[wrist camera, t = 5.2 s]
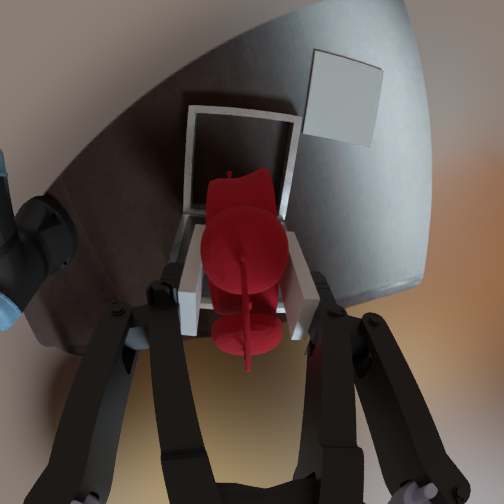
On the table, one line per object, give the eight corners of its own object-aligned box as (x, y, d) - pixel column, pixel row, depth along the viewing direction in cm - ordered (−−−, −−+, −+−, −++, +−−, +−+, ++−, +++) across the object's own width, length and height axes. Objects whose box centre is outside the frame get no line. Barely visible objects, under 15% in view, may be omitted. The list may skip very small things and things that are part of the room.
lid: (182, 211, 39) (182, 218, 40) (158, 297, 27) (159, 304, 27) (285, 219, 40) (284, 226, 41) (305, 306, 28) (302, 313, 29)
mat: (302, 133, 37) (303, 133, 37) (314, 50, 30) (315, 50, 30) (369, 147, 38) (370, 147, 38) (382, 71, 32) (383, 71, 31)
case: (185, 208, 42) (182, 216, 40) (191, 105, 34) (188, 105, 31) (281, 216, 44) (284, 224, 41) (298, 115, 36) (303, 117, 33)
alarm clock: (220, 153, 22) (110, 236, 9) (297, 155, 21) (285, 248, 8) (226, 261, 27) (167, 392, 14) (291, 266, 26) (272, 412, 14)
